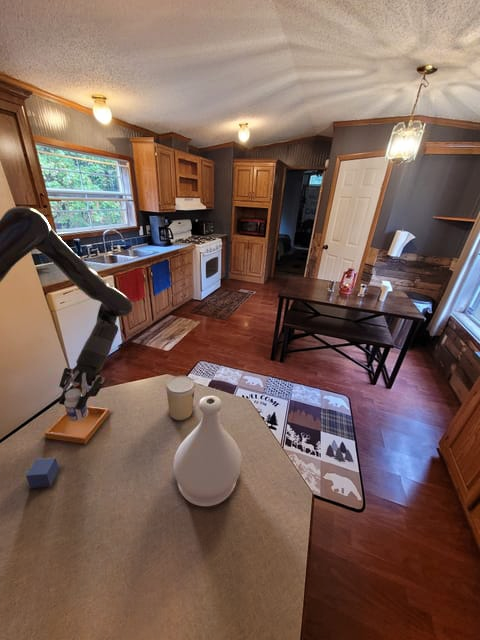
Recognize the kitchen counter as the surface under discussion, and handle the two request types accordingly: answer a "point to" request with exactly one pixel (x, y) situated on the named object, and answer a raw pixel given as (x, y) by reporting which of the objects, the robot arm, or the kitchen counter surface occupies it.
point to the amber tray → (78, 426)
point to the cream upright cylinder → (180, 396)
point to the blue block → (42, 472)
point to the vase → (207, 459)
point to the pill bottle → (70, 405)
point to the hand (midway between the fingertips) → (70, 406)
